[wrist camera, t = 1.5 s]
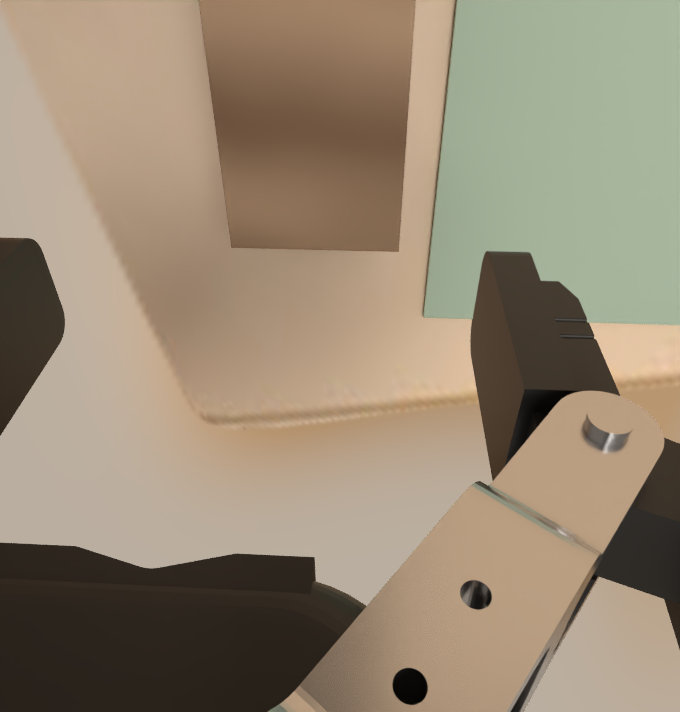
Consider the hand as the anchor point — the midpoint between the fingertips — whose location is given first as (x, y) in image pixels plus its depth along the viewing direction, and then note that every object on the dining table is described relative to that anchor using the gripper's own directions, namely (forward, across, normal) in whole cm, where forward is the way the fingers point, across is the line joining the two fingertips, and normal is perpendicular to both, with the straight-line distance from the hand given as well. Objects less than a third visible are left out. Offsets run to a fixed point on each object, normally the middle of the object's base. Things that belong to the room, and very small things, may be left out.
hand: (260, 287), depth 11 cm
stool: (+18, 0, 0) cm, 18 cm away
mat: (+18, -12, +3) cm, 22 cm away
